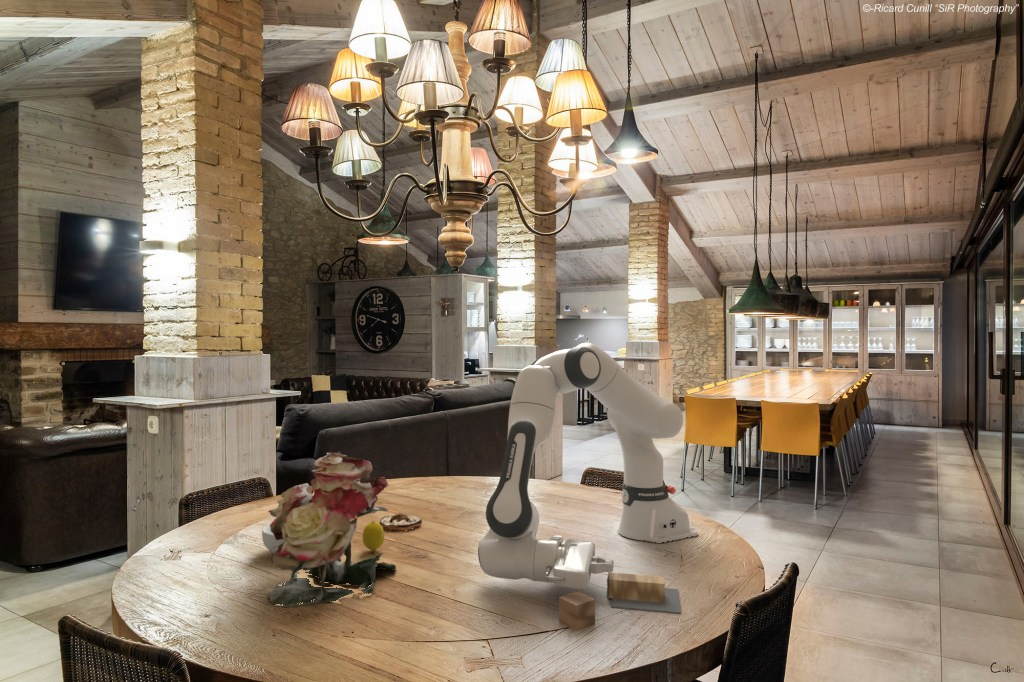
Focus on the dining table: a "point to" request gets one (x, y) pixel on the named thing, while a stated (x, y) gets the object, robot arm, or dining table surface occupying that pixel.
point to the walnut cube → (576, 610)
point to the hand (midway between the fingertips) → (613, 566)
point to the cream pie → (400, 522)
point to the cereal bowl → (271, 540)
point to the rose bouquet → (325, 531)
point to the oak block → (636, 587)
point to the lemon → (373, 536)
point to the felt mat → (652, 603)
